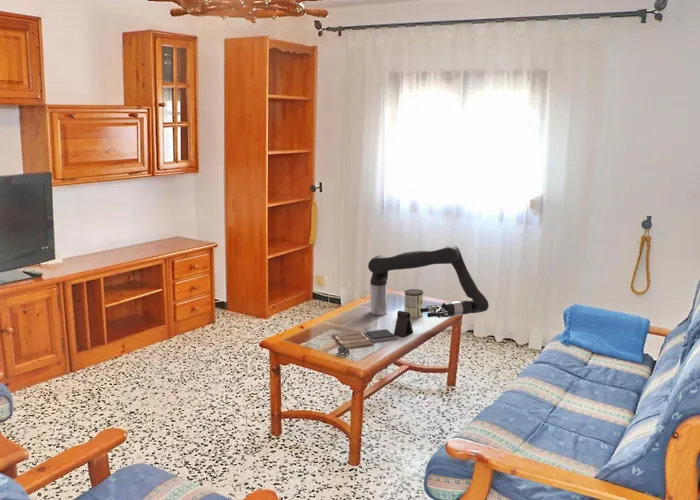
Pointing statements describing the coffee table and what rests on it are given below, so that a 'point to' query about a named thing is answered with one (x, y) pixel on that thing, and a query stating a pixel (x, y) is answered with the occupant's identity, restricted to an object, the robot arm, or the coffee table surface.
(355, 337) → the marked board
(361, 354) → the coffee table surface
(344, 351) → the car cutout
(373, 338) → the ink pad
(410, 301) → the coffee can
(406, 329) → the phone stand
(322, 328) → the coffee table surface
